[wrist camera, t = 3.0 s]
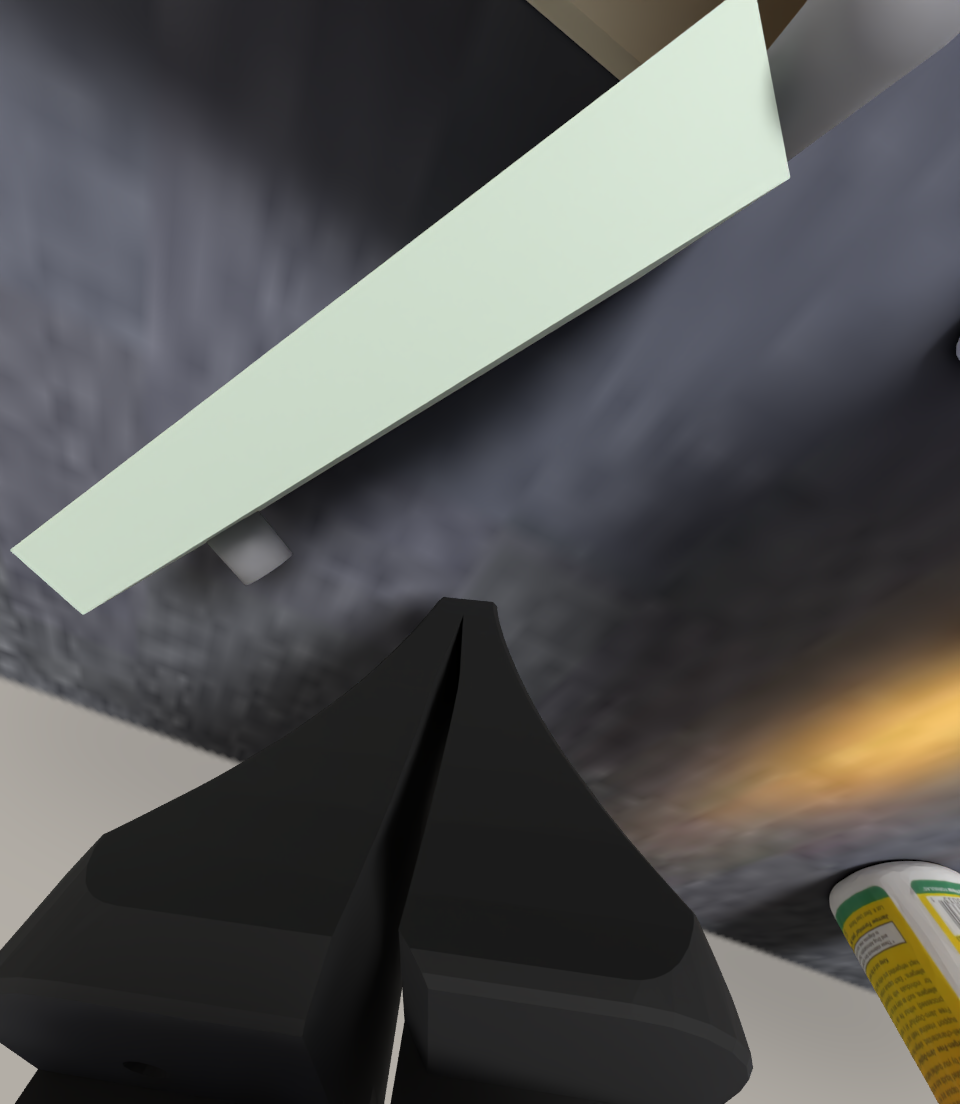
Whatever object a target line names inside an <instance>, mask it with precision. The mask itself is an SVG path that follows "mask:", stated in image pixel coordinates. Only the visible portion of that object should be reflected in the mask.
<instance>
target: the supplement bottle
mask: <svg viewBox="0 0 960 1104" xmlns="http://www.w3.org/2000/svg"><path fill="white" fill-rule="evenodd" d="M829 903H830V908H831V911H832V913H833V915H834V917H835V919H836V921H837V923H838V925H839V926H840V928H841V930H842V932H843V934H844V935H845V937H846V939H847V941H848V943H849V944H850V946H851V948H852V950H853V951H854V953H855V955H856V957H857V959H858V961H859V962H860V964H861V966H862V968H863V970H864V971H865V973H866V975H867V977H868V978H869V980H870V982H871V984H872V985H873V987H874V989H875V991H876V993H877V994H878V996H879V998H880V1000H881V1002H882V1003H883V1005H884V1007H885V1009H886V1010H887V1012H888V1014H889V1016H890V1018H891V1019H892V1021H893V1023H894V1024H895V1026H896V1028H897V1030H898V1032H899V1034H900V1035H901V1037H902V1039H903V1041H904V1042H905V1044H906V1046H907V1048H908V1049H909V1051H910V1053H911V1055H912V1057H913V1059H914V1060H915V1062H916V1064H917V1066H918V1067H919V1069H920V1071H921V1073H922V1074H923V1076H924V1078H925V1080H926V1082H927V1083H928V1085H929V1087H930V1089H931V1091H932V1092H933V1094H934V1096H935V1098H936V1100H937V1102H938V1103H939V1104H960V874H959V873H957V872H956V871H954V870H951V869H949V868H947V867H944V866H941V865H938V864H934V863H929V862H922V861H896V862H888V863H882V864H878V865H874V866H870V867H867V868H864V869H861V870H859V871H857V872H855V873H853V874H851V875H849V876H848V877H846V878H845V879H843V880H842V881H840V882H839V883H837V884H836V885H835V886H834V888H833V889H832V891H831V893H830V897H829Z"/></svg>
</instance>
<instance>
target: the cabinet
mask: <svg viewBox="0 0 960 1104" xmlns="http://www.w3.org/2000/svg"><path fill="white" fill-rule="evenodd" d="M526 1H528V2H529V3H530V4H531V5H532V6H533V7H535V8H536V9H537V10H538V11H539V12H540V13H542V14H543V15H544V16H545V17H546V18H547V19H549V20H550V21H551V22H552V23H553V24H554V25H556V26H557V27H558V28H559V29H560V30H561V31H563V32H564V33H565V34H566V35H567V36H568V37H570V38H571V39H572V40H573V41H574V42H576V43H577V44H578V45H579V46H580V47H581V48H583V49H584V50H585V51H586V52H587V53H588V54H590V55H591V56H592V57H593V58H594V59H595V60H597V61H598V62H599V63H600V64H601V65H602V66H604V67H605V68H606V69H607V70H608V71H609V72H611V73H612V74H613V75H614V76H615V77H616V78H618V79H619V80H620V81H621V80H623V79H624V78H625V77H626V76H628V75H629V74H630V73H632V72H633V71H634V70H636V69H637V68H638V67H639V66H641V65H642V64H643V63H645V62H646V61H647V60H649V59H650V58H651V57H652V56H654V55H655V54H656V53H658V52H659V51H660V50H662V49H663V48H664V47H665V46H667V45H668V44H669V43H671V42H672V41H673V40H675V39H676V38H677V37H678V36H680V35H681V34H682V33H684V32H685V31H686V30H688V29H689V28H690V27H691V26H693V25H694V24H695V23H697V22H698V21H699V20H701V19H702V18H703V17H705V16H706V15H707V14H708V13H710V12H711V11H712V10H714V9H715V8H716V7H718V6H719V5H720V4H721V3H723V2H724V1H725V0H526ZM807 1H808V0H757V3H758V8H759V14H760V19H761V24H762V30H763V35H764V40H765V46H766V51H767V50H768V49H769V48H770V46H771V45H772V44H773V43H774V41H775V40H776V39H777V38H778V36H779V35H780V34H781V33H782V32H783V30H784V29H785V28H786V27H787V25H788V24H789V23H790V22H791V20H792V19H793V18H794V17H795V15H796V14H797V13H798V12H799V10H800V9H801V8H802V7H803V6H804V4H805V3H806V2H807Z"/></svg>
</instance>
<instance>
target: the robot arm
mask: <svg viewBox="0 0 960 1104" xmlns="http://www.w3.org/2000/svg"><path fill="white" fill-rule="evenodd" d="M956 355H957V357H958V358H959V360H960V338H959V341H958V343H957V345H956ZM402 988H403V1003H404V1018H405V1023H404V1028H403V1034H402V1040H401V1046H400V1051H399V1057H398V1063H397V1069H396V1075H395V1081H394V1087H393V1092H392V1098H391V1104H725V1103H726V1102H727V1101H728V1100H730V1099H731V1098H732V1097H734V1096H735V1095H736V1094H737V1093H739V1092H740V1091H741V1090H742V1088H743V1087H744V1086H745V1084H746V1083H747V1081H748V1080H749V1078H750V1074H751V1072H752V1069H753V1065H752V1058H751V1053H750V1050H749V1047H748V1044H747V1041H746V1037H745V1034H744V1031H743V1028H742V1025H741V1022H740V1019H739V1016H738V1013H737V1011H736V1008H735V1005H734V1002H733V1000H732V997H731V995H730V993H729V990H728V987H727V985H726V983H725V980H724V978H723V976H722V973H721V971H720V969H719V966H718V964H717V962H716V959H715V957H714V955H713V952H712V950H711V948H710V946H709V944H708V941H707V939H706V937H705V934H704V932H703V930H702V928H701V926H700V924H699V921H698V919H697V917H696V915H695V914H694V913H693V912H692V910H691V909H690V908H689V907H688V906H687V905H686V904H685V903H684V902H683V901H682V900H681V898H680V897H679V896H678V895H677V894H676V893H675V892H674V891H673V890H672V888H671V887H670V886H669V885H668V884H667V883H666V882H665V881H664V880H663V878H662V877H661V876H660V875H659V874H658V873H657V872H656V870H655V869H654V868H653V867H652V866H651V865H650V864H649V862H648V861H647V860H646V859H645V858H644V857H643V855H642V854H641V853H640V852H639V851H638V850H637V848H636V847H635V846H634V845H633V844H632V843H631V841H630V840H629V839H628V838H627V836H626V835H625V834H624V833H623V832H622V830H621V829H620V828H619V827H618V825H617V824H616V823H615V822H614V820H613V819H612V818H611V817H610V815H609V814H608V813H607V812H606V811H605V809H604V808H603V807H602V806H601V804H600V803H599V802H598V800H597V799H596V797H595V796H594V795H593V793H592V792H591V791H590V789H589V788H588V786H587V785H586V784H585V782H584V781H583V780H582V778H581V777H580V776H579V774H578V773H577V771H576V770H575V769H574V767H573V766H572V765H571V763H570V762H569V761H568V759H567V758H566V756H565V755H564V753H563V752H562V750H561V749H560V747H559V746H558V744H557V742H556V741H555V739H554V738H553V736H552V735H551V733H550V732H549V730H548V728H547V727H546V725H545V723H544V722H543V720H542V718H541V716H540V715H539V713H538V711H537V709H536V708H535V706H534V704H533V702H532V700H531V698H530V697H529V695H528V693H527V691H526V689H525V687H524V685H523V682H522V680H521V678H520V676H519V674H518V672H517V670H516V667H515V665H514V663H513V660H512V658H511V655H510V653H509V650H508V648H507V645H506V642H505V639H504V636H503V633H502V630H501V626H500V622H499V618H498V612H497V606H496V605H495V604H494V603H493V602H487V601H477V600H467V599H457V598H447V597H443V598H442V599H440V600H439V601H438V602H437V604H436V605H435V606H434V608H433V609H432V610H431V611H430V612H429V614H428V615H427V616H426V617H425V618H424V620H423V621H422V622H421V623H420V624H419V625H418V626H417V627H416V629H415V630H414V631H413V632H412V633H411V634H410V635H409V636H408V637H407V638H406V639H405V640H404V641H403V642H402V643H401V644H400V645H399V646H398V647H397V648H396V649H395V650H394V651H393V652H392V653H391V654H390V655H389V656H388V657H387V658H386V659H385V660H384V661H383V662H381V663H380V664H379V665H378V666H377V667H376V668H375V669H374V670H373V671H372V672H371V673H370V674H368V675H367V676H366V677H365V678H364V679H363V680H361V681H360V682H359V683H358V684H357V685H355V686H354V687H353V688H352V689H350V690H349V691H348V692H347V693H345V694H344V695H343V696H341V697H340V698H339V699H338V700H336V701H335V702H334V703H332V704H331V705H330V706H328V707H327V708H326V709H324V710H323V711H321V712H320V713H318V714H317V715H316V716H314V717H313V718H311V719H310V720H309V721H307V722H306V723H304V724H303V725H301V726H300V727H299V728H297V729H296V730H294V731H293V732H291V733H290V734H288V735H287V736H285V737H283V738H282V739H280V740H279V741H277V742H276V743H274V744H272V745H271V746H269V747H267V748H266V749H264V750H262V751H261V752H259V753H257V754H256V755H254V756H252V757H251V758H249V759H247V760H245V761H244V762H242V763H240V764H239V765H237V766H235V767H233V768H232V769H230V770H228V771H227V772H225V773H223V774H221V775H219V776H218V777H216V778H214V779H212V780H211V781H208V782H207V783H205V784H203V785H201V786H199V787H197V788H195V789H193V790H191V791H189V792H188V793H186V794H184V795H182V796H180V797H178V798H176V799H174V800H172V801H170V802H168V803H166V804H164V805H162V806H160V807H158V808H156V809H154V810H152V811H150V812H148V813H146V814H144V815H142V816H140V817H138V818H136V819H134V820H133V821H130V822H128V823H126V824H124V825H122V826H120V827H118V828H116V829H114V830H112V831H110V832H108V833H105V834H103V835H102V836H101V838H100V839H99V840H98V841H97V842H96V843H95V844H94V845H93V846H92V847H91V848H90V849H89V850H88V851H87V852H86V854H85V855H84V856H83V857H82V858H81V859H80V860H79V861H78V862H77V863H76V864H75V865H74V866H73V868H72V869H71V870H70V871H69V872H68V873H67V874H66V875H65V876H64V878H63V879H62V880H61V881H60V882H59V883H58V885H57V886H56V887H55V888H54V889H53V890H52V891H51V893H50V894H49V895H48V896H47V897H46V898H45V900H44V901H43V902H42V903H41V904H40V905H39V907H38V908H37V909H36V910H35V911H34V912H33V913H32V915H31V916H30V917H29V918H28V919H27V921H25V923H24V924H23V925H22V926H21V927H20V928H19V930H18V931H17V932H16V933H15V934H14V935H13V936H12V938H11V939H10V940H9V941H8V942H7V943H6V944H5V946H4V947H3V948H2V949H1V950H0V1043H1V1044H3V1045H4V1046H6V1047H7V1048H9V1049H10V1050H11V1051H13V1052H14V1053H16V1054H17V1055H19V1056H20V1057H22V1058H23V1059H24V1060H26V1061H27V1062H29V1063H30V1064H32V1065H33V1066H35V1067H36V1068H37V1069H38V1070H37V1072H36V1073H35V1075H34V1076H33V1077H32V1079H31V1080H30V1082H29V1084H28V1085H27V1086H26V1088H25V1089H24V1091H23V1092H22V1094H21V1095H20V1097H19V1098H18V1100H17V1101H16V1103H15V1104H384V1100H385V1094H386V1088H387V1081H388V1075H389V1068H390V1062H391V1055H392V1049H393V1042H394V1036H395V1030H396V1023H397V1016H398V1010H399V1004H400V997H401V991H402Z"/></svg>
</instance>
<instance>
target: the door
mask: <svg viewBox="0 0 960 1104" xmlns="http://www.w3.org/2000/svg"><path fill="white" fill-rule="evenodd" d="M959 33H960V0H808V1H807V2H806V3H805V4H804V6H803V7H802V8H801V9H800V10H799V12H798V13H797V14H796V15H795V17H794V18H793V19H792V20H791V22H790V23H789V24H788V25H787V27H786V28H785V29H784V30H783V32H782V33H781V34H780V35H779V36H778V38H777V39H776V40H775V41H774V43H773V44H772V45H771V46H770V48H769V49H768V50H767V51H766V46H765V40H764V35H763V30H762V24H761V19H760V14H759V8H758V3H757V0H725V1H724V2H723V3H721V4H720V5H719V6H718V7H716V8H715V9H714V10H712V11H711V12H710V13H708V14H707V15H706V16H705V17H703V18H702V19H701V20H699V21H698V22H697V23H695V24H694V25H693V26H691V27H690V28H689V29H688V30H686V31H685V32H684V33H682V34H681V35H680V36H678V37H677V38H676V39H675V40H673V41H672V42H671V43H669V44H668V45H667V46H665V47H664V48H663V49H662V50H660V51H659V52H658V53H656V54H655V55H654V56H652V57H651V58H650V59H649V60H647V61H646V62H645V63H643V64H642V65H641V66H639V67H638V68H637V69H636V70H634V71H633V72H632V73H630V74H629V75H628V76H626V77H625V78H624V79H623V80H621V81H620V82H619V83H617V84H616V85H615V86H613V87H612V88H611V89H609V90H608V91H607V92H606V93H604V94H603V95H602V96H600V97H599V98H598V99H596V100H595V101H594V102H593V103H591V104H590V105H589V106H587V107H586V108H585V109H583V110H582V111H581V112H580V113H578V114H577V115H576V116H574V117H573V118H572V119H570V120H569V121H568V122H567V123H565V124H564V125H563V126H561V127H560V128H559V129H557V130H556V131H555V132H554V133H552V134H551V135H550V136H548V137H547V138H546V139H544V140H543V141H542V142H541V143H539V144H538V145H537V146H535V147H534V148H533V149H531V150H530V151H529V152H527V153H526V154H525V155H524V156H522V157H521V158H520V159H518V160H517V161H516V162H514V163H513V164H512V165H511V166H509V167H508V168H507V169H505V170H504V171H503V172H501V173H500V174H499V175H498V176H496V177H495V178H494V179H492V180H491V181H490V182H488V183H487V184H486V185H485V186H483V187H482V188H481V189H479V190H478V191H477V192H475V193H474V194H473V195H472V196H470V197H469V198H468V199H466V200H465V201H464V202H462V203H461V204H460V205H459V206H457V207H456V208H455V209H453V210H452V211H451V212H449V213H448V214H447V215H445V216H444V217H443V218H442V219H440V220H439V221H438V222H436V223H435V224H434V225H432V226H431V227H430V228H429V229H427V230H426V231H425V232H423V233H422V234H421V235H419V236H418V237H417V238H416V239H414V240H413V241H412V242H410V243H409V244H408V245H406V246H405V247H404V248H403V249H401V250H400V251H399V252H397V253H396V254H395V255H393V256H392V257H391V258H390V259H388V260H387V261H386V262H384V263H383V264H382V265H380V266H379V267H378V268H377V269H375V270H374V271H373V272H371V273H370V274H369V275H367V276H366V277H365V278H363V279H362V280H361V281H360V282H358V283H357V284H356V285H354V286H353V287H352V288H350V289H349V290H348V291H347V292H345V293H344V294H343V295H341V296H340V297H339V298H337V299H336V300H335V301H334V302H332V303H331V304H330V305H328V306H327V307H326V308H324V309H323V310H322V311H321V312H319V313H318V314H317V315H315V316H314V317H313V318H311V319H310V320H309V321H308V322H306V323H305V324H304V325H302V326H301V327H300V328H298V329H297V330H296V331H295V332H293V333H292V334H291V335H289V336H288V337H287V338H285V339H284V340H283V341H281V342H280V343H279V344H278V345H276V346H275V347H274V348H272V349H271V350H270V351H268V352H267V353H266V354H265V355H263V356H262V357H261V358H259V359H258V360H257V361H255V362H254V363H253V364H252V365H250V366H249V367H248V368H246V369H245V370H244V371H242V372H241V373H240V374H239V375H237V376H236V377H235V378H233V379H232V380H231V381H229V382H228V383H227V384H226V385H224V386H223V387H222V388H220V389H219V390H218V391H216V392H215V393H214V394H213V395H211V396H210V397H209V398H207V399H206V400H205V401H203V402H202V403H201V404H199V405H198V406H197V407H196V408H194V409H193V410H192V411H190V412H189V413H188V414H186V415H185V416H184V417H183V418H181V419H180V420H179V421H177V422H176V423H175V424H173V425H172V426H171V427H170V428H168V429H167V430H166V431H164V432H163V433H162V434H160V435H159V436H158V437H157V438H155V439H154V440H153V441H151V442H150V443H149V444H147V445H146V446H145V447H144V448H142V449H141V450H140V451H138V452H137V453H136V454H134V455H133V456H132V457H131V458H129V459H128V460H127V461H125V462H124V463H123V464H121V465H120V466H119V467H117V468H116V469H115V470H114V471H112V472H111V473H110V474H108V475H107V476H106V477H104V478H103V479H102V480H101V481H99V482H98V483H97V484H95V485H94V486H93V487H91V488H90V489H89V490H88V491H86V492H85V493H84V494H82V495H81V496H80V497H78V498H77V499H76V500H75V501H73V502H72V503H71V504H69V505H68V506H67V507H65V508H64V509H63V510H62V511H60V512H59V513H58V514H56V515H55V516H54V517H52V518H51V519H50V520H49V521H47V522H46V523H45V524H43V525H42V526H41V527H39V528H38V529H37V530H35V531H34V532H33V533H32V534H30V535H29V536H28V537H26V538H25V539H24V540H22V541H21V542H20V543H19V544H17V545H16V546H15V547H13V548H12V549H11V550H10V551H11V552H12V553H14V554H15V555H16V556H17V557H18V558H19V559H20V560H21V561H23V562H24V563H25V564H26V565H27V566H28V567H29V568H30V569H32V570H33V571H34V572H35V573H36V574H37V575H38V576H39V577H41V578H42V579H43V580H44V581H45V582H46V583H47V584H49V585H50V586H51V587H52V588H53V589H54V590H55V591H56V592H58V593H59V594H60V595H61V596H62V597H63V598H64V599H65V600H67V601H68V602H69V603H70V604H71V605H72V606H73V607H74V608H76V609H77V610H78V611H79V612H80V613H81V614H82V615H84V614H86V613H87V612H89V611H91V610H93V609H94V608H96V607H98V606H99V605H101V604H103V603H104V602H106V601H108V600H110V599H111V598H113V597H115V596H116V595H118V594H120V593H121V592H123V591H125V590H127V589H128V588H130V587H132V586H133V585H135V584H137V583H138V582H140V581H142V580H144V579H145V578H147V577H149V576H150V575H152V574H154V573H155V572H157V571H159V570H161V569H162V568H164V567H166V566H167V565H169V564H171V563H172V562H174V561H176V560H178V559H179V558H181V557H183V556H184V555H186V554H188V553H189V552H191V551H193V550H195V549H196V548H198V547H200V546H201V545H203V544H205V543H206V542H207V543H208V545H209V546H210V547H211V548H212V549H213V550H214V551H215V552H216V553H217V555H218V556H219V557H220V558H221V559H222V560H223V561H224V562H225V563H226V565H227V566H228V567H229V568H230V569H231V570H232V571H233V572H234V573H235V575H236V576H237V577H238V578H239V579H240V580H241V581H242V582H243V583H244V585H249V584H251V583H253V582H255V581H257V580H258V579H260V578H262V577H263V576H265V575H266V574H268V573H269V572H271V571H272V570H274V569H275V568H277V567H278V566H279V565H281V564H282V563H283V562H285V561H286V560H287V559H288V558H289V557H291V556H292V554H293V553H292V552H291V551H290V549H289V548H288V547H287V546H286V545H285V543H284V542H283V541H282V540H281V538H280V537H279V536H278V535H277V534H276V532H275V531H274V530H273V529H272V527H271V526H270V525H269V524H268V523H267V521H266V520H265V519H264V518H263V516H262V515H261V514H260V513H259V511H261V510H262V509H264V508H266V507H267V506H269V505H270V504H272V503H274V502H275V501H277V500H279V499H280V498H282V497H283V496H285V495H287V494H288V493H290V492H292V491H293V490H295V489H297V488H298V487H300V486H301V485H303V484H305V483H306V482H308V481H310V480H311V479H313V478H314V477H316V476H318V475H319V474H321V473H323V472H324V471H326V470H328V469H329V468H331V467H332V466H334V465H336V464H337V463H339V462H341V461H342V460H344V459H345V458H347V457H349V456H350V455H352V454H354V453H355V452H357V451H359V450H360V449H362V448H363V447H365V446H367V445H368V444H370V443H372V442H373V441H375V440H376V439H378V438H380V437H381V436H383V435H385V434H386V433H388V432H390V431H391V430H393V429H394V428H396V427H398V426H399V425H401V424H403V423H404V422H406V421H407V420H409V419H411V418H412V417H414V416H416V415H417V414H419V413H421V412H422V411H424V410H425V409H427V408H429V407H430V406H432V405H434V404H435V403H437V402H438V401H440V400H442V399H443V398H445V397H447V396H448V395H450V394H452V393H453V392H455V391H456V390H458V389H460V388H461V387H463V386H465V385H466V384H468V383H469V382H471V381H473V380H474V379H476V378H478V377H479V376H481V375H483V374H484V373H486V372H487V371H489V370H491V369H492V368H494V367H496V366H497V365H499V364H500V363H502V362H504V361H505V360H507V359H509V358H510V357H512V356H514V355H515V354H517V353H518V352H520V351H522V350H523V349H525V348H527V347H528V346H530V345H531V344H533V343H535V342H536V341H538V340H540V339H541V338H543V337H545V336H546V335H548V334H549V333H551V332H553V331H554V330H556V329H558V328H559V327H561V326H562V325H564V324H566V323H567V322H569V321H571V320H572V319H574V318H576V317H577V316H579V315H580V314H582V313H584V312H585V311H587V310H589V309H590V308H592V307H593V306H595V305H597V304H598V303H600V302H602V301H603V300H605V299H607V298H608V297H610V296H611V295H613V294H615V293H616V292H618V291H620V290H621V289H623V288H624V287H626V286H628V285H629V284H631V283H633V282H634V281H636V280H638V279H639V278H641V277H642V276H644V275H645V274H647V273H648V272H650V271H651V270H653V269H654V268H656V267H657V266H659V265H660V264H662V263H663V262H665V261H666V260H668V259H669V258H671V257H672V256H674V255H675V254H677V253H678V252H680V251H681V250H683V249H684V248H686V247H687V246H689V245H690V244H692V243H693V242H695V241H696V240H698V239H699V238H701V237H702V236H704V235H705V234H707V233H708V232H710V231H711V230H713V229H714V228H716V227H717V226H719V225H720V224H722V223H723V222H725V221H726V220H728V219H729V218H731V217H732V216H734V215H735V214H737V213H738V212H740V211H741V210H743V209H744V208H746V207H747V206H749V205H750V204H752V203H753V202H755V201H756V200H758V199H759V198H761V197H762V196H764V195H765V194H767V193H768V192H770V191H771V190H773V189H774V188H776V187H777V186H779V185H780V184H782V183H783V182H785V181H786V180H788V179H789V178H790V174H789V169H788V163H787V162H788V161H789V160H790V159H792V158H793V157H794V156H796V155H797V154H798V153H800V152H801V151H803V150H804V149H805V148H807V147H808V146H809V145H811V144H812V143H813V142H815V141H816V140H818V139H819V138H820V137H822V136H823V135H824V134H826V133H827V132H828V131H830V130H831V129H833V128H834V127H835V126H837V125H838V124H839V123H841V122H842V121H843V120H845V119H846V118H848V117H849V116H850V115H852V114H853V113H854V112H856V111H857V110H858V109H860V108H861V107H863V106H864V105H865V104H867V103H868V102H869V101H871V100H872V99H873V98H875V97H876V96H878V95H879V94H880V93H882V92H883V91H884V90H886V89H887V88H888V87H890V86H891V85H893V84H894V83H895V82H897V81H898V80H899V79H901V78H902V77H903V76H905V75H906V74H908V73H909V72H910V71H912V70H913V69H914V68H916V67H917V66H918V65H920V64H921V63H923V62H924V61H925V60H927V59H928V58H929V57H931V56H932V55H933V54H935V53H936V52H938V51H939V50H940V49H942V48H943V47H944V46H945V45H947V44H948V43H949V42H950V41H951V40H952V39H954V38H955V37H956V36H957V35H958V34H959Z"/></svg>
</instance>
